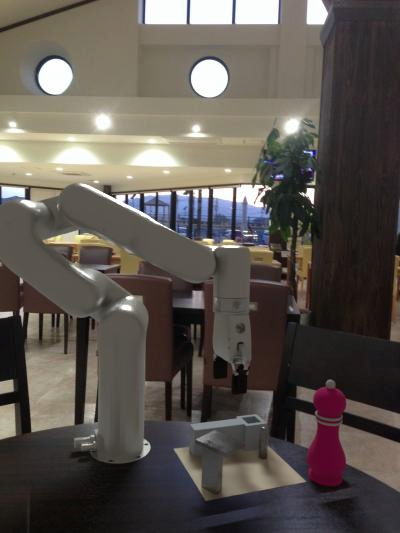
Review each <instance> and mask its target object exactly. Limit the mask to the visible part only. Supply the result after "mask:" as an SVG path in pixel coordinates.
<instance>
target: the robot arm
mask: <svg viewBox="0 0 400 533" xmlns="http://www.w3.org/2000/svg"><path fill="white" fill-rule="evenodd" d="M80 230H83V231H84V232H85V233H88V234H90V235H93V236H94V237H97V238H98V239H101V240H103V241H105V242H106V243H109V244H111V245H113V246H114V247H117V248H118V249H121V250H123V251H124V252H127V253H128V254H130V255H132V256H135V257H137V258H139V259H142V260H143V261H146V262H147V263H150V264H151V265H153V266H155V267H157V268H158V269H159V268H160V269H161V270H162V271H166V272H167V273H169V274H171V275H173V276H175V277H177V278H179V279H182V280H184V281H185V282H188V283H191V284H201V283H204V282H207V281H208V280H209V279H211V278H213V287H212V289H213V290H212V291H213V293H212V294H213V295H212V297H213V298H212V312H213V313H214V318H213V331H212V337H211V338H212V339H211V341H212V348H211V349H212V351H213V355H212V360H213V364H212V369H213V370H212V379H214V380H221V379H227V378H228V363H229V364H231V367H232V368H231V369H232V374H231V388H230V389H231V390H230V392H231V394H232V395H234V396H235V395H237V396H238V395H245V394H247V392H248V375H249V371H250V368H251V366H250V365H251V362H252V331H251V330H252V329H251V328H252V327H251V319H250V314H249V313H250V290H251V288H250V287H251V259H252V258H251V256H252V255H251V249H249V247H248V246H246V245H236V244H235V245H234V244H232V245H231V244H226V245H224V244H223V245H217V246H216V245H208V244H201V243H198V242H197V241H195V240H193V239H191V238H189V237H186V236H185V235H183V234H181V233H178V232H176V231H175V230H173V229H171V228H169V227H167V226H165V225H163V224H162V223H160V222H158V221H156V219H153V218H152V217H151V216H149V215H148V214H146V213H144V212H142V211H141V210H139V209H137V208H135V207H132V206H131V205H128V204H127V203H124V202H123V201H120V200H119V199H116V198H115V197H113V196H110V195H108V194H106V193H105V192H103V191H101V190H99V189H96V188H94V187H93V186H91V185H89V184H86V183H82V182H75V183H70V184H68V185H67V186H65V187H64V188H63V189H61V191H60V193H59V195H56V196H52V197H48V198H45V199H41V200H37V201H34V200H29V199H25V198H14V199H9V200H7V201H6V200H5V202H3V203H1V204H0V261H1V263H2V264H3V265H4V266H6V268H8V269H9V270H10V272H12V273H14V274H15V276H18V277H19V278H20V279H21V280H23V281H24V282H26V283H27V284H28V285H29V286H31V287H32V288H34V289H35V290H36V291H37V292H38V293H40V294H41V295H43V296H44V297H45V298H46V299H47V300H49V301H50V302H52V303H53V304H55V305H56V306H58V307H59V309H61V310H63V312H65V313H66V314H68V316H71V317H74V318H79V319H81V318H87V317H91V318H92V319H93V320H95V321H96V322H97V323H98V327H97V330H96V331H97V333H96V334H97V335H96V336H97V337H96V338H97V340H96V341H97V354H98V356H97V357H98V371H97V372H98V373H97V374H98V377H97V378H98V386H97V387H98V390H97V392H98V398H97V399H98V402H97V428H96V429H94V433H92V434H90V435H89V436H84V437H83V436H80V437H73V446H74V448H75V449H76V448H81V452H89V453H90V455H91V456H92V457H93V459H96V460H97V461H100V462H104V463H108V464H126V463H132V462H135V461H138V460H141V459H142V458H145V456H147V455H148V454H149V453H150V451H151V448H152V447H151V444H150V442H149V441H148V440H147V439H146V438H145V410H146V409H145V403H146V402H145V401H146V400H145V399H146V352H147V351H146V350H147V349H146V346H147V345H146V344H147V343H146V342H147V330H148V326H149V317H150V316H149V312H148V310H147V307H146V305H145V304H144V303H143V302H142V301H141V300H140V299H138V298H137V297H136V296H134V295H133V294H132V293H131V292H129V291H128V290H126V289H125V288H123V287H122V286H121V285H120V284H119V283H117V282H115V281H114V280H113V279H112V278H110V277H109V276H108V275H106V274H105V273H102V272H101V271H99V270H97V269H94V268H90V267H89V268H81V267H79V266H78V265H76V264H75V263H73V262H72V261H70V260H69V259H67V258H66V257H65V256H64V255H63V254H62V253H61V252H58V251H57V250H56V249H54V248H52V247H51V246H49V245H47V244H46V243H45V242H44V241H45V240H48V239H51V238H56V237H60V236H62V235H66V234H70V233H72V232H76V231H80ZM237 365H238V366H237Z"/></svg>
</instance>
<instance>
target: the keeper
mask: <svg viewBox="0 0 400 533" xmlns="http://www.w3.org/2000/svg"><path fill="white" fill-rule="evenodd" d="M195 444H197V445H199V446H202V447H203V453H202V481H201V487H202V488H204V489H206V490H208V491H210V492H211V493H213V494H215V495H217V494H219V493H220V492H222V472H223V457H225V458H226V457H228V456H230V455H231V454H233V453H235V452H237V451H238V450H240V449H242V448H244V447H245V442H243V441H240V440H238V439H235V438H233V437H231V436H228V435H226V434H223V433H221V432H219V431H216V430H214V431H212V432H210V433H208V434H206V435H204V436H202V437H200V438H198V439H196V442H195Z"/></svg>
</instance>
